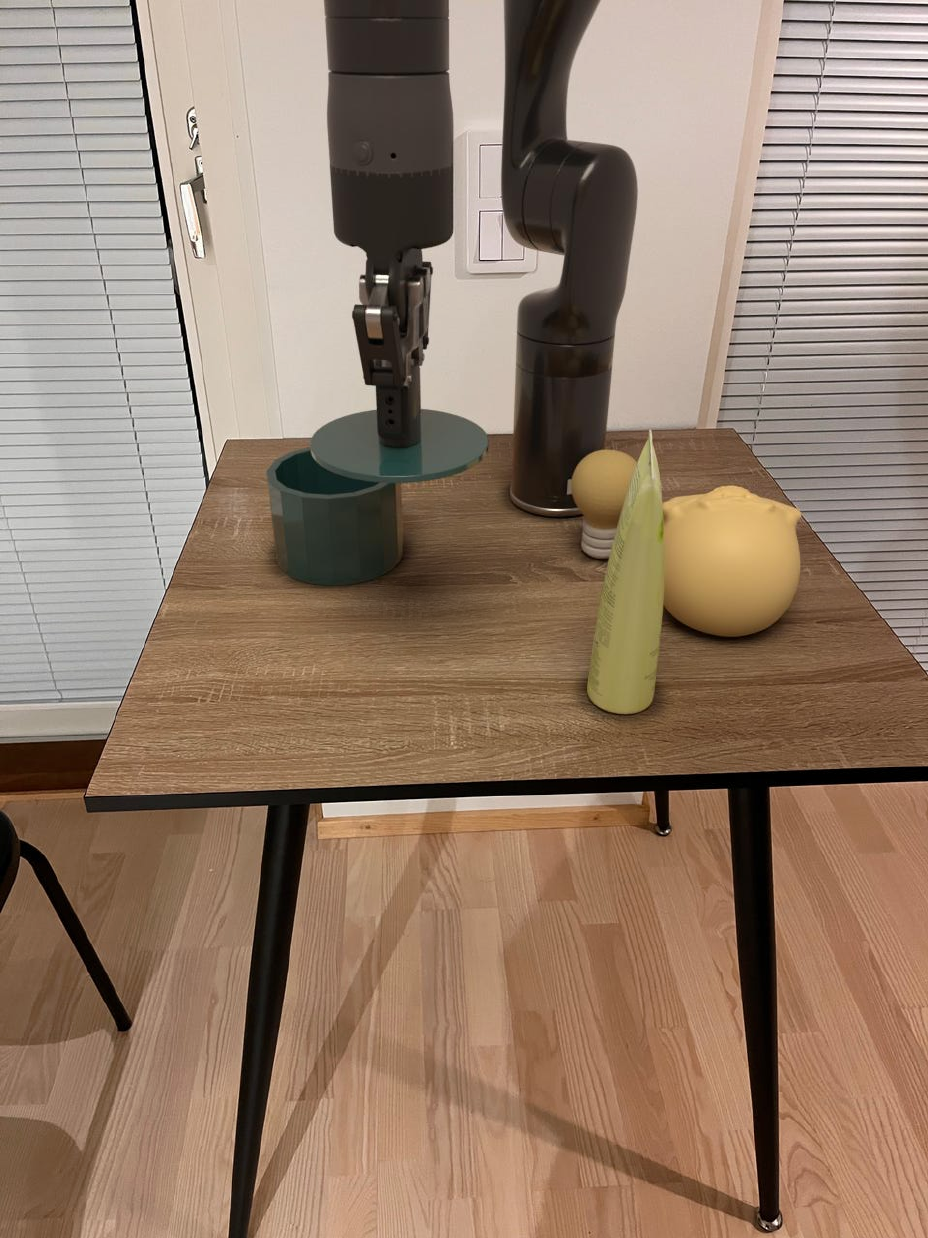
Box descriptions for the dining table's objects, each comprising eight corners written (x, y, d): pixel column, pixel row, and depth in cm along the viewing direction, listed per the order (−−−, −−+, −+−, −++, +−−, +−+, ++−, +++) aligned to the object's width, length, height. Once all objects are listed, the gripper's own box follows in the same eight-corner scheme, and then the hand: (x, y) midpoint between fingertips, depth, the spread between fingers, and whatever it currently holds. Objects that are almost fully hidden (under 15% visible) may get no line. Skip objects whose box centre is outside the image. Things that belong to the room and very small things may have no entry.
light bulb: (641, 542, 91) (652, 444, 85) (628, 574, 86) (639, 472, 80) (575, 532, 93) (582, 434, 87) (559, 563, 88) (565, 461, 82)
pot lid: (337, 416, 74) (331, 331, 71) (498, 426, 73) (500, 340, 69) (288, 484, 64) (278, 388, 60) (475, 497, 62) (476, 400, 59)
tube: (674, 705, 70) (713, 457, 59) (621, 730, 68) (652, 475, 57) (622, 667, 74) (650, 428, 63) (571, 689, 72) (591, 444, 61)
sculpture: (774, 580, 85) (798, 468, 79) (800, 658, 75) (829, 536, 69) (644, 573, 86) (658, 462, 80) (652, 648, 76) (669, 527, 70)
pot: (297, 521, 94) (289, 440, 90) (413, 529, 93) (410, 447, 88) (259, 580, 85) (248, 493, 80) (387, 590, 83) (383, 502, 79)
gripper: (432, 176, 52) (435, 472, 61) (469, 144, 63) (467, 397, 73) (297, 172, 52) (321, 464, 62) (358, 141, 64) (370, 391, 74)
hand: (400, 426), depth 67 cm, fingers closed on pot lid, 3 cm apart
